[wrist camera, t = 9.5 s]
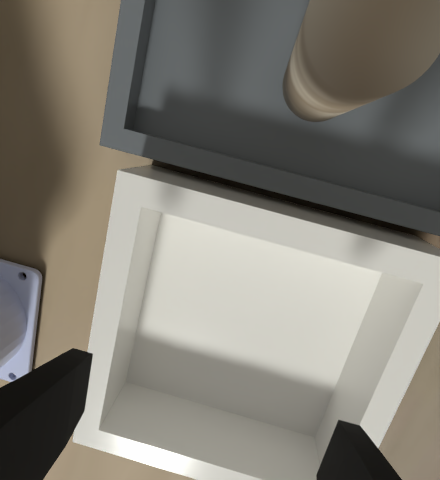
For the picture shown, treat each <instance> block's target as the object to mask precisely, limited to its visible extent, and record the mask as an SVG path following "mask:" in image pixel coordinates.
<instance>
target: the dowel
mask: <svg viewBox="0 0 440 480" xmlns="http://www.w3.org/2000/svg"><path fill="white" fill-rule="evenodd" d="M439 54H440V0H310V1H309V4H308V7H307V10H306V13H305V16H304V19H303V22H302V25H301V28H300V30H299V33H298V36H297V39H296V42H295V45H294V48H293V51H292V54H291V57H290V60H289V62H288V65H287V68H286V71H285V74H284V78H283V85H282V89H283V96H284V99H285V102H286V104H287V106H288V108H289V109H290V110H291V111H292V112H293V113H294V114H295V115H296V116H297V117H299V118H301V119H303V120H306V121H310V122H322V121H326V120H329V119H332V118H334V117H336V116H339V115H341V114H344V113H346V112H348V111H351V110H353V109H356V108H358V107H361V106H363V105H365V104H368V103H370V102H373V101H375V100H377V99H380V98H382V97H385V96H387V95H390V94H392V93H394V92H397V91H399V90H401V89H403V88H405V87H407V86H408V85H410V84H411V83H413V82H414V81H416V80H417V79H418V78H419V77H420V76H422V75H423V74H424V73H425V72H426V71H427V70H428V69H429V67H430V66H431V65H432V64H433V62H434V61H435V60H436V58H437V57H438V55H439Z"/></svg>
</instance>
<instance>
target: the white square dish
mask: <svg viewBox="0 0 440 480" xmlns="http://www.w3.org/2000/svg"><path fill="white" fill-rule="evenodd" d="M439 321H440V249H439V248H437V247H435V246H433V245H432V244H430V243H428V242H426V241H424V240H423V239H421V238H419V237H417V236H415V235H411V234H408V233H404V232H400V231H396V230H393V229H389V228H385V227H381V226H378V225H374V224H370V223H367V222H363V221H359V220H355V219H352V218H348V217H344V216H340V215H337V214H333V213H329V212H326V211H322V210H318V209H314V208H311V207H307V206H303V205H299V204H296V203H292V202H288V201H284V200H281V199H277V198H273V197H270V196H266V195H262V194H258V193H255V192H251V191H247V190H243V189H240V188H236V187H232V186H229V185H225V184H221V183H217V182H214V181H210V180H206V179H202V178H199V177H195V176H191V175H187V174H184V173H180V172H176V171H173V170H169V169H165V168H161V167H158V166H154V165H147V166H141V167H134V168H127V169H121V170H118V171H117V177H116V183H115V189H114V195H113V201H112V207H111V213H110V219H109V225H108V231H107V237H106V243H105V249H104V255H103V261H102V267H101V273H100V279H99V285H98V291H97V297H96V303H95V309H94V315H93V321H92V327H91V333H90V339H89V345H88V351H87V352H89V353H92V354H93V357H92V364H91V371H90V378H89V384H88V391H87V398H86V404H85V411H84V413H83V415H82V417H81V419H80V420H79V422H78V424H77V426H76V428H75V430H74V436H73V442H75V443H78V444H81V445H85V446H88V447H91V448H95V449H98V450H101V451H105V452H108V453H111V454H114V455H118V456H121V457H124V458H128V459H131V460H134V461H137V462H141V463H144V464H147V465H151V466H154V467H157V468H161V469H164V470H167V471H170V472H174V473H177V474H180V475H184V476H187V477H190V478H194V479H197V480H317V477H316V475H317V472H318V469H319V467H320V464H321V462H322V459H323V457H324V454H325V452H326V449H327V447H328V444H329V442H330V439H331V437H332V434H333V432H334V429H335V427H336V424H337V422H338V420H342V421H345V422H349V423H353V424H357V425H360V426H361V427H362V429H363V430H364V431H365V432H366V433H367V435H368V436H369V437H370V439H371V440H372V441H373V442H374V444H375V445H376V446H377V448H379V446H380V444H381V442H382V440H383V438H384V435H385V433H386V431H387V429H388V427H389V425H390V423H391V421H392V419H393V417H394V415H395V413H396V411H397V409H398V406H399V404H400V402H401V400H402V398H403V396H404V394H405V392H406V390H407V388H408V386H409V384H410V382H411V380H412V377H413V375H414V373H415V371H416V369H417V367H418V365H419V363H420V361H421V359H422V357H423V355H424V353H425V350H426V348H427V346H428V344H429V342H430V340H431V338H432V336H433V334H434V332H435V330H436V328H437V326H438V324H439Z"/></svg>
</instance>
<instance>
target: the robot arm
mask: <svg viewBox="0 0 440 480" xmlns="http://www.w3.org/2000/svg"><path fill="white" fill-rule="evenodd" d="M22 272H24V273H25V274H26V277H27V278H25V277H24V276H23V273H22ZM41 285H42V275H41V273H40V272H39V271H38V270H37V269H35V268H31V267H28V266H24V265H20V264H17V263H13V262H10V261H6V260H3V259H0V379H3V380H6V381H10V383H8V384H7V385H5V386H3V387H1V388H0V480H43V479H44V477H45V476H46V474H47V473H48V471H49V470H50V468H51V467H52V465H53V464H54V462H55V461H56V460H57V458H58V457H59V455H60V454H61V452H62V451H63V449H64V448H65V446H66V444H67V443H68V441H69V439H70V437H71V435H72V434H73V432H74V430H75V428H76V426H77V424H78V422H79V420H80V419H81V417H82V415H83V413H84V411H85V404H86V398H87V391H88V384H89V378H90V371H91V364H92V357H93V354H92V353H89V352H85V351H81V350H78V349H74V348H73V349H71V350H69V351H67V352H65V353H63V354H61V355H60V356H58V357H56V358H54V359H52V360H51V361H49V362H47V363H45V364H43V365H42V366H40V367H38V368H36V369H34V370H33V371H32V363H33V354H34V346H35V337H36V329H37V320H38V311H39V303H40V294H41ZM13 373H14V374H15V375H14V374H13ZM316 477H317V480H402V479H401V478H400V477H399V475H398V474H397V473H396V471H395V470H394V469H393V468H392V466H391V465H390V464H389V462H388V461H387V460H386V458H385V457H384V456H383V454H382V453H381V452H380V450H379V449H378V448H377V446H376V445H375V444H374V442H373V441H372V440H371V439H370V437H369V436H368V435H367V433H366V432H365V431H364V430H363V429H362V427H361V426H360V425H357V424H353V423H349V422H345V421H342V420H338V422H337V424H336V427H335V429H334V432H333V434H332V437H331V439H330V442H329V444H328V447H327V449H326V452H325V454H324V457H323V459H322V462H321V464H320V467H319V469H318V472H317V475H316Z"/></svg>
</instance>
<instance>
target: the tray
mask: <svg viewBox="0 0 440 480" xmlns="http://www.w3.org/2000/svg"><path fill="white" fill-rule="evenodd" d="M309 1H310V0H121V4H120V11H119V18H118V24H117V31H116V38H115V45H114V51H113V58H112V65H111V71H110V78H109V85H108V92H107V98H106V105H105V112H104V119H103V125H102V132H101V139H100V145H101V146H105V147H108V148H112V149H116V150H120V151H123V152H127V153H131V154H135V155H138V156H142V157H146V158H150V159H153V160H157V161H161V162H165V163H168V164H172V165H176V166H180V167H183V168H187V169H191V170H194V171H198V172H202V173H206V174H209V175H213V176H217V177H221V178H224V179H228V180H232V181H236V182H239V183H243V184H247V185H251V186H254V187H258V188H262V189H266V190H269V191H273V192H277V193H281V194H284V195H288V196H292V197H295V198H299V199H303V200H307V201H310V202H314V203H318V204H322V205H325V206H329V207H333V208H337V209H340V210H344V211H348V212H352V213H355V214H359V215H363V216H367V217H370V218H374V219H378V220H382V221H385V222H389V223H393V224H396V225H400V226H404V227H408V228H411V229H415V230H419V231H423V232H426V233H430V234H434V235H438V236H440V54H439V55H438V57H437V58H436V60H435V61H434V62H433V64H432V65H431V66H430V67H429V69H428V70H427V71H426V72H425V73H424V74H423V75H422V76H420V77H419V78H418V79H417V80H416V81H414V82H413V83H411V84H410V85H408V86H407V87H405V88H403V89H401V90H399V91H397V92H394V93H392V94H390V95H387V96H385V97H382V98H380V99H377V100H375V101H373V102H370V103H368V104H365V105H363V106H361V107H358V108H356V109H353V110H351V111H348V112H346V113H344V114H341V115H339V116H336V117H334V118H332V119H329V120H326V121H322V122H310V121H306V120H303V119H301V118H299V117H297V116H296V115H295V114H294V113H293V112H292V111H291V110H290V109H289V108H288V106H287V104H286V102H285V99H284V96H283V89H282V85H283V78H284V74H285V71H286V68H287V65H288V62H289V60H290V57H291V54H292V51H293V48H294V45H295V42H296V39H297V36H298V33H299V30H300V28H301V25H302V22H303V19H304V16H305V13H306V10H307V7H308V4H309Z"/></svg>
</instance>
